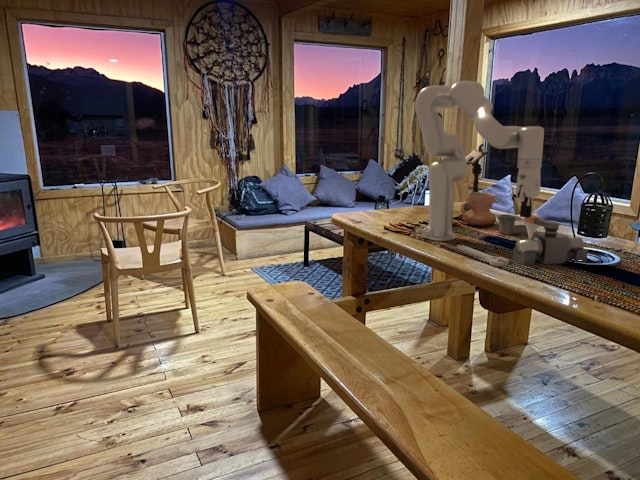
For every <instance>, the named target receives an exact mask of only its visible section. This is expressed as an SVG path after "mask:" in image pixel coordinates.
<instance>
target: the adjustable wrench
mask: <svg viewBox="0 0 640 480" xmlns="http://www.w3.org/2000/svg"><path fill="white" fill-rule="evenodd" d="M456 248H457V249H458V250H461V251H463V252H466V253H469V254H472V255H473V256H476V257H478V258H481V259H483V260H486V261H487V262H488V263H489V264H490V265H492V266H495V267H504V265H509V262H510V261H509V259H507V258H505V257H503V256H501V257H500V256H494V255H491V254H487V253H485V252H482V251H480V250H478V249H474V248H473V247H470V246H468V245H464V244H457V246H456Z"/></svg>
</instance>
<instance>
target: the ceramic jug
mask: <svg viewBox="0 0 640 480" xmlns="http://www.w3.org/2000/svg"><path fill="white" fill-rule="evenodd" d="M496 196H497V195H496V194H495V193H492V192H480V191H479V192H476V193H471V192H469V193H466V198H467V199H466V200H465V201H462V202H461V204H460V213H461V215H462V220H463V221H464V223H466V224H468V225H470V226H474V227H489V226H491V225H494V224H495V223H496V221H497V215H495V214H494V213H493V212H492V211H491V209H492V206H493V205H494V204H495V203H496V204H498V203H500V201H499V200H498V199H496ZM467 200H468V201H467ZM465 204H468V205H469V206H470V209H471V210H470V211H468V212H467V213H465V212H464V206H465Z"/></svg>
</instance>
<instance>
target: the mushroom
mask: <svg viewBox="0 0 640 480" xmlns="http://www.w3.org/2000/svg"><path fill="white" fill-rule="evenodd" d="M532 215H535V216H538V217H540V218H541V219H542V217H541V216H540V215H539V213H538V212H537V211H536V212H535V213H533V214H532ZM517 216H518V217H519V219H520V221H521V220H522V222H523V223H524V224H523V225H526V228H527V231H528V233H527V234H528V240H530V238H531V237H533V233H535V232H536V230H537V229H538V228H540V227H541V226H540V225H537V224H532V223H529V222H526V221H524V217H520V213H519V214H517Z"/></svg>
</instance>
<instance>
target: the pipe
mask: <svg viewBox="0 0 640 480" xmlns="http://www.w3.org/2000/svg"><path fill="white" fill-rule="evenodd" d="M516 217H517V216H516V215H512V214H497V215H496V218H497V220H498V228H499V229H498V230H499V231H498V232H499V234H500V235H507V236H508V235H525V234H526V235H527V234H528V231H527V228H526V225H525V224H516V223H515V222H516Z"/></svg>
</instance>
